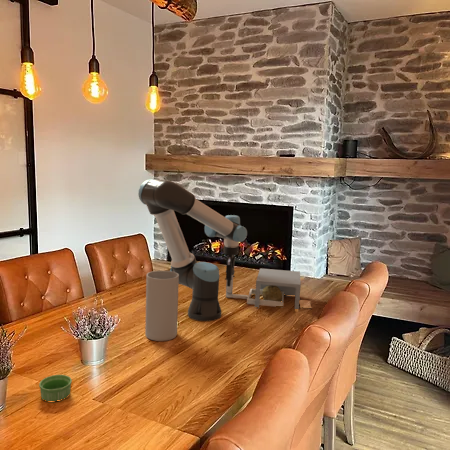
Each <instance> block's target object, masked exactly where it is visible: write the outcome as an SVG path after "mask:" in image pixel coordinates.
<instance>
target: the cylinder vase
mask: <svg viewBox="0 0 450 450" xmlns="http://www.w3.org/2000/svg"><path fill="white" fill-rule="evenodd" d="M145 284H146V285H145V327H144V328H145V331H144V332H145V333H144V334H145V337H146V338H147V339H149V340H151V341H154V342H167V341H171V340H173V339H175V338H176V336H177V335H178V317H179V316H178V315H179V313H178V312H179V311H178V310H179V285H180V284H179V274H178V273H176V272H172V271H170V270H153V271H149V272H147V273H146V279H145Z"/></svg>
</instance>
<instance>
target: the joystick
mask: <svg viewBox="0 0 450 450" xmlns="http://www.w3.org/2000/svg"><path fill="white" fill-rule="evenodd" d="M233 274H235V268H234V269H233V268H232V289H233V288H234V287H233V285H234V277H233V276H234V275H233ZM262 291H263V290H260V296H263V294H262ZM255 293H256V288H250V289H249V292H248V294H236V293H233V290H231V292H226V291H225V298H234V299H241V300H242V299H243V300H246V304H247V305H254V306H255V298H252V295H255ZM281 293H282V302H281V301H270V300H263V299H260V300H259V306H267V307H276V306H283V307H284V298H285V296H284V292H283V291H281Z"/></svg>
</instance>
